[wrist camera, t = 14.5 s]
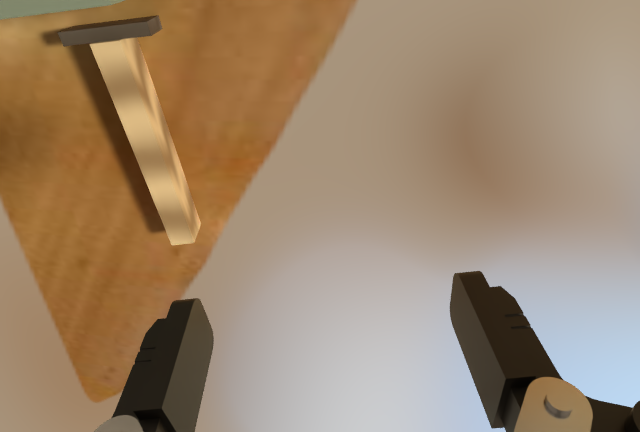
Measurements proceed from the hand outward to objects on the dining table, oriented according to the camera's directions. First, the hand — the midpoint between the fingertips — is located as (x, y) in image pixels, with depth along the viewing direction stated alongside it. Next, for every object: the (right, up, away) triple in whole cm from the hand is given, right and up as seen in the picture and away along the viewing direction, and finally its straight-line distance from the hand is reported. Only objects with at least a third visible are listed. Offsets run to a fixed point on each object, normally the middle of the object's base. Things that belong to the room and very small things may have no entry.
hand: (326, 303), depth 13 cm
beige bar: (-16, +10, +26) cm, 32 cm away
